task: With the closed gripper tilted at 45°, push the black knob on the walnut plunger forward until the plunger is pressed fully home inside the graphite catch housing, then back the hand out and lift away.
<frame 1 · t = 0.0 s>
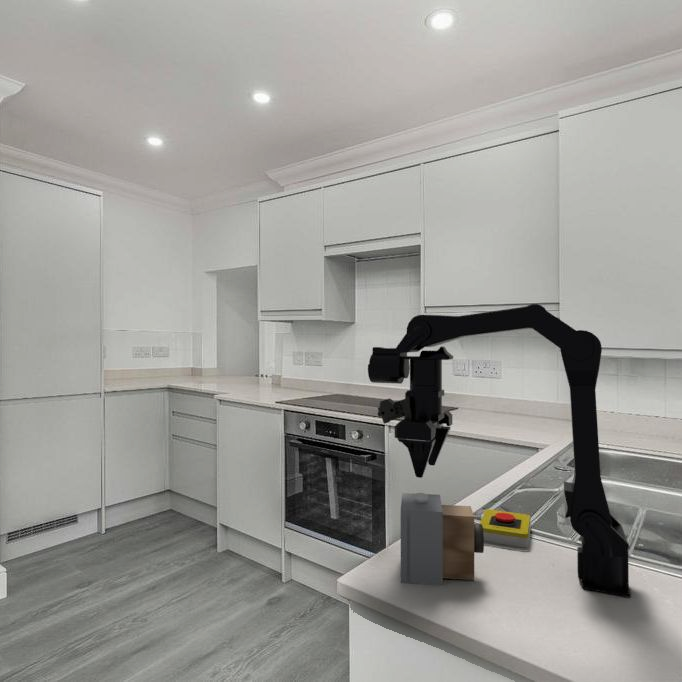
hand: (425, 470, 87), 15 cm above the countertop, tool pointing down, fingers open, 9 cm apart
emergency button: (505, 537, 95), on the countertop
catch housing: (447, 572, 79), on the countertop
plunger: (461, 541, 78), point 5 cm above the countertop, slide at 4.0 cm
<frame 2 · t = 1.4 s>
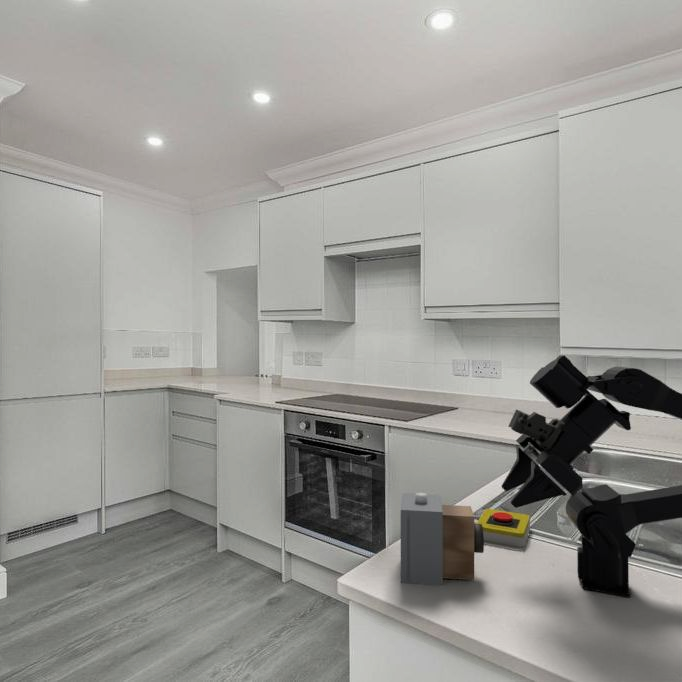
hand: (507, 496, 77), 13 cm above the countertop, tool tilted 45°, fingers open, 8 cm apart
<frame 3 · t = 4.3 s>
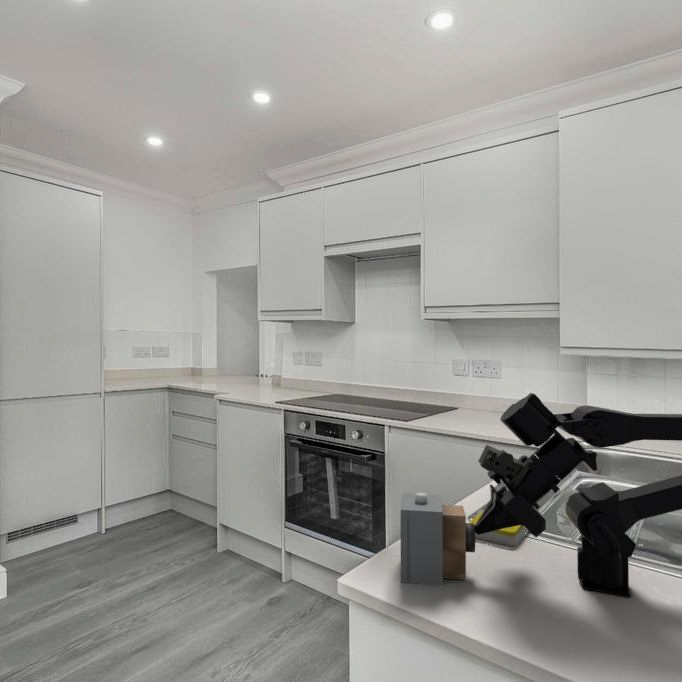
hand: (475, 531, 78), 7 cm above the countertop, tool tilted 45°, fingers closed, pressing on plunger
plunger: (453, 540, 79), point 5 cm above the countertop, slide at 2.7 cm, touching gripper
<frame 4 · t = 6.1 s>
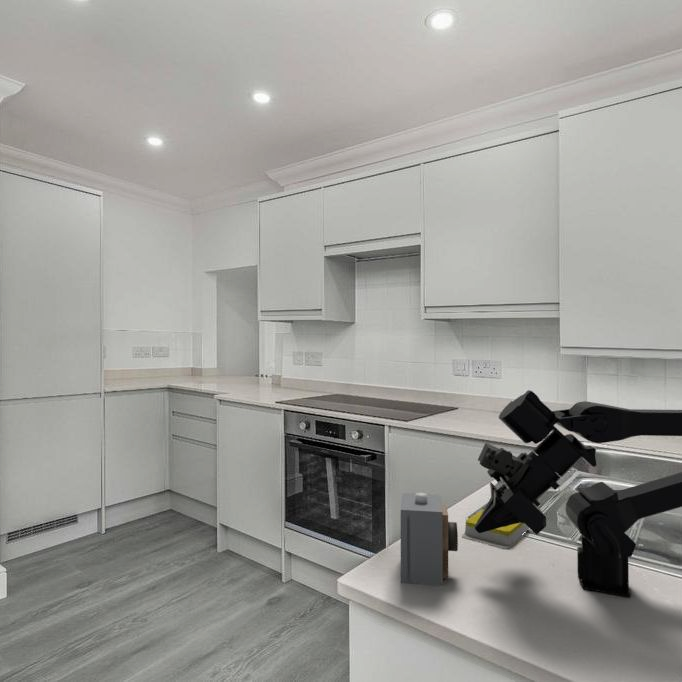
hand: (476, 530, 78), 7 cm above the countertop, tool tilted 45°, fingers closed
plunger: (436, 539, 79), point 5 cm above the countertop, slide at 0.0 cm
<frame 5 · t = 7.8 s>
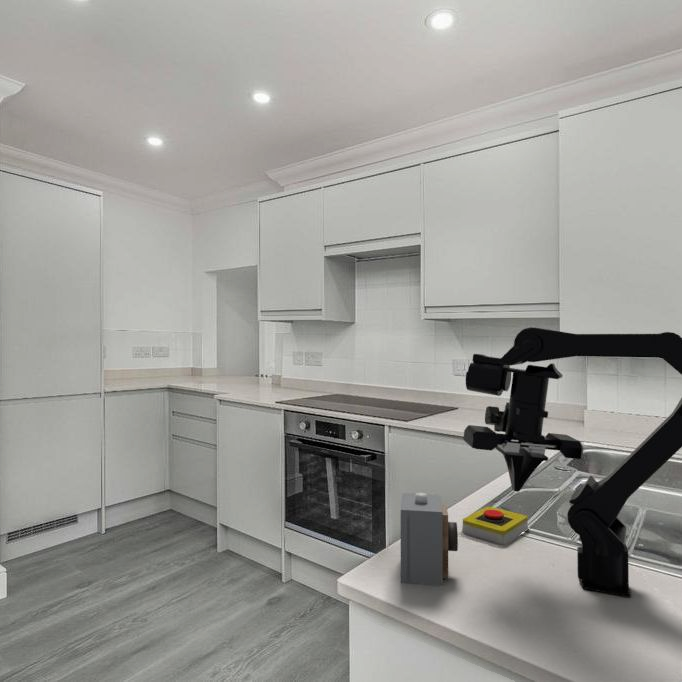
hand: (515, 490, 82), 12 cm above the countertop, tool pointing down, fingers closed
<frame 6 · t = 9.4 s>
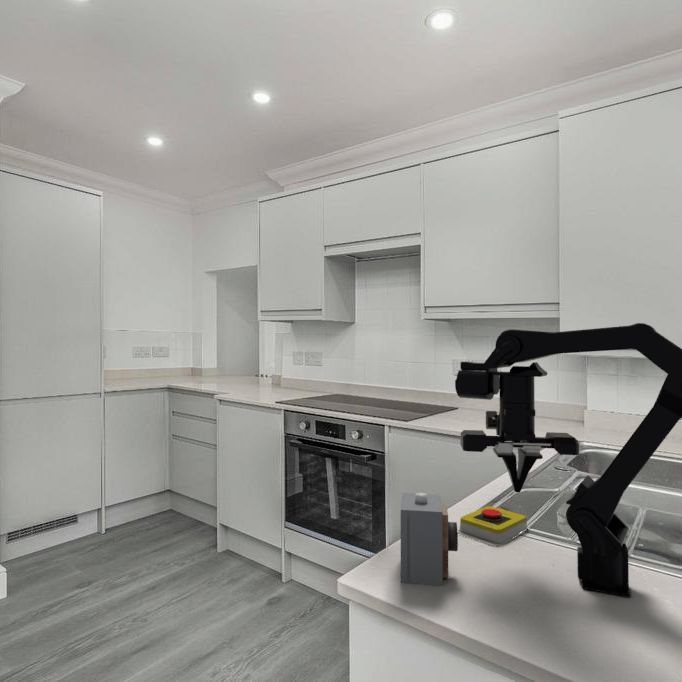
hand: (517, 491, 83), 12 cm above the countertop, tool pointing down, fingers closed
at the end: plunger slide at 0.0 cm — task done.
